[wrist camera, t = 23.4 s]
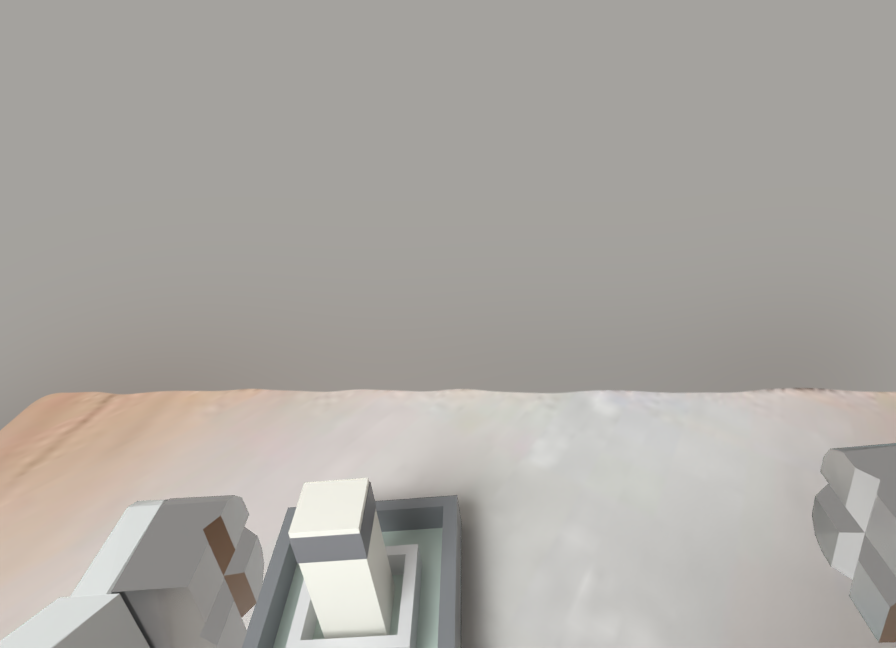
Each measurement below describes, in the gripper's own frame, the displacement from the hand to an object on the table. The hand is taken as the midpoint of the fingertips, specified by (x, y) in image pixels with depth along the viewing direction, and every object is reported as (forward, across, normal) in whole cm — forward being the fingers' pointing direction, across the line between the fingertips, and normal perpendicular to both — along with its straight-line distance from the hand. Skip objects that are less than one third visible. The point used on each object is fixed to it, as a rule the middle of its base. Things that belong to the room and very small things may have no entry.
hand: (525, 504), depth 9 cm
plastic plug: (+20, +11, +29) cm, 37 cm away
